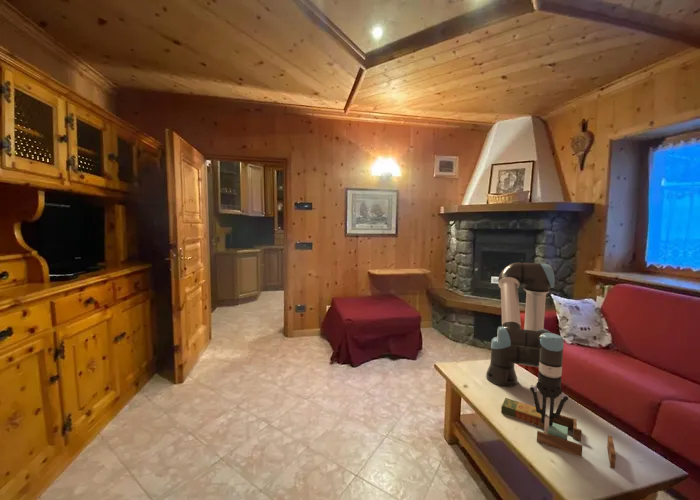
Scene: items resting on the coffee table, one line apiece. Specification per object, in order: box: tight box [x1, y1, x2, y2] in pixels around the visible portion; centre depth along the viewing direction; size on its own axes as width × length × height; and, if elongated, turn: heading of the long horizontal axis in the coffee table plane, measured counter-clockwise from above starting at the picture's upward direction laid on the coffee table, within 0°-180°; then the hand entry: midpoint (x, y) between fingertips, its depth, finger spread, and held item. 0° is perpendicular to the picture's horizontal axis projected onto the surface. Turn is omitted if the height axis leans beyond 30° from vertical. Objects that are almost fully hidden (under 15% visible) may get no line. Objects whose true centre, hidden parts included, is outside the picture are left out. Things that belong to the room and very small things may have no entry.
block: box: [548, 423, 568, 440], centre depth 120 cm, size 6×6×5 cm
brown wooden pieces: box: [536, 414, 617, 470], centre depth 120 cm, size 19×23×5 cm
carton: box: [500, 397, 542, 427], centre depth 136 cm, size 8×16×4 cm, turn 53°
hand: (546, 431), depth 123 cm, fingers closed
